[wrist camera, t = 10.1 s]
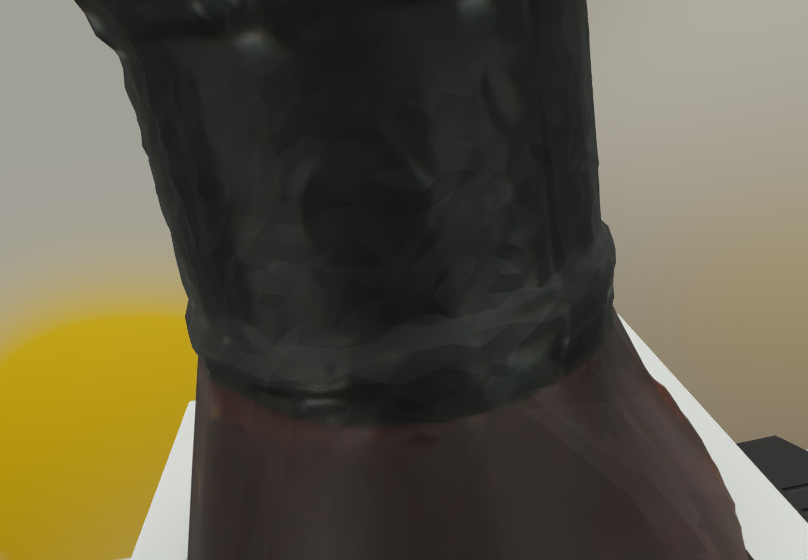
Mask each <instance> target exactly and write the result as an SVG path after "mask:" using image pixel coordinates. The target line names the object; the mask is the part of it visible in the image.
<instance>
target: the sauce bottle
mask: <svg viewBox="0 0 808 560" xmlns="http://www.w3.org/2000/svg"><path fill="white" fill-rule="evenodd" d="M74 1H75V2H76V3H77V5H78V6H79V7H80V8H81V9H82V11H83V12H84V13H85V15H86V17H87V19H88V21H89V23H90V25H91V27H92V29H93V31H94V33H95V35H96V36H97V37H98V38H99V39H101V40H102V41H103V42H105V43H106V44H107V45H108V46H109V47H111V48H112V49H113V50H114V51H115V52H116V53H117V55H118V56H119V58H120V61H121V64H122V67H123V72H124V83H125V89H126V92H127V94H128V96H129V99H130V101H131V103H132V106H133V108H134V110H135V112H136V116H137V121H138V124H139V127H140V129H141V136H142V146H143V148H144V150H145V152H146V154H147V155H148V157H149V164H150V167H151V171H152V175H153V178H154V182H155V188H156V193H157V195H158V199H159V203H160V207H161V210H162V213H163V215H164V218H165V220H166V223H167V225H168V227H169V229H170V232H171V237H172V242H173V247H174V252H175V257H176V260H177V265H178V268H179V272H180V276H181V280H182V284H183V286H184V289H185V291H186V294H187V296H188V298H189V300H188V305H187V310H186V315H185V319H186V324H187V329H188V334H189V337H190V341H191V344H192V348H193V349H194V350H195V352H196V353H197V354H198V368H197V386H196V404H195V422H194V440H193V458H192V476H191V496H190V516H189V536H188V556H187V560H748V557H747V553H746V548H745V545H744V540H743V536H742V528H741V525H740V522H739V520H738V517H737V515H736V512H735V503H734V501H733V499H732V498H731V495H730V493H729V491H728V490H727V488H726V486H725V484H724V481H723V479H722V477H721V474H720V472H719V469H718V467H717V466H716V464H715V463H714V461H713V460H712V458H711V456H710V454H709V452H708V450H707V448H706V447H705V445H704V443H703V441H702V439H701V438H700V436H699V435H698V433H697V432H696V430H695V429H694V427H693V426H692V424H691V423H690V421H689V420H688V418H687V417H686V416H685V415H684V414H683V412H682V411H681V410H680V408H679V406H678V405H677V403H676V402H675V400H674V399H673V397H672V396H671V394H670V393H669V392H668V390H667V389H666V388H665V386H663V385H662V384H660V383H659V382H658V381H656V380H655V379H654V378H653V377H652V376H651V375H650V373H649V372H648V370H647V369H646V367H645V366H644V364H643V362H642V360H641V358H640V356H639V354H638V352H637V351H636V349H635V347H634V345H633V343H632V341H631V339H630V337H629V335H628V334H627V332H626V330H625V328H624V326H623V324H622V322H621V320H620V318H619V317H618V315H617V313H616V311H615V309H614V307H613V299H614V290H613V277H614V268H615V264H616V255H615V254H616V253H615V245H614V242H613V238H612V236H611V233H610V230H609V228H608V226H607V225H606V224H605V223H604V222H603V221H602V220H601V212H600V198H599V179H598V165H599V161H598V152H597V141H596V129H595V116H594V103H593V88H592V74H591V61H590V45H589V26H588V17H587V16H588V15H587V14H588V13H587V12H588V11H587V3H586V0H74Z"/></svg>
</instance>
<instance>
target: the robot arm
mask: <svg viewBox="0 0 808 560" xmlns="http://www.w3.org/2000/svg"><path fill="white" fill-rule="evenodd" d="M617 315H618V314H617ZM618 317H619V318H620V320H621V322H622V324H623V326H624V328H625V330H626V332H627V334H628V335H629V337H630V339H631V341H632V343H633V345H634V347H635V349H636V351H637V352H638V354H639V356H640V358H641V360H642V362H643V364H644V366H645V367H646V369H647V370H648V372H649V373H650V375H651V376H652V377H653V378H654V379H655V380H656V381H658V382H659V383H660V384H662V385H663V386H665V388H666V389H667V390H668V392H669V393H670V394H671V396H672V397H673V399H674V400H675V402H676V403H677V405H678V406H679V408H680V410H681V411H682V412H683V414H684V415H685V416H686V417H687V418H688V420H689V421H690V423H691V424H692V426H693V427H694V429H695V430H696V432H697V433H698V435H699V436H700V438H701V439H702V441H703V443H704V445H705V447H706V448H707V450H708V452H709V454H710V456H711V458H712V460H713V461H714V463H715V464H716V466H717V467H718V469H719V472H720V474H721V477H722V479H723V481H724V484H725V486H726V488H727V490H728V491H729V493H730V495H731V498H732V499H733V501H734V503H735V512H736V515H737V517H738V520H739V522H740V525H741V528H742V536H743V540H744V545H745V548H746V553H747V557H748V560H808V451H806V450H804V449H802V448H800V447H798V446H796V445H794V444H792V443H789V442H788V441H786V440H784V439H781V438H779V437H777V436H771V437H766V438H762V439H757V440H752V441H747V442H742V443H738V444H735V443H734V441H733V440H732V439H731V438H730V437H729V436H728V435H727V434H726V433H725V432H724V431H723V429H722V428H721V427H720V426H719V425H718V424H717V423H716V422H715V420H714V419H713V418H712V417H711V416H710V415H709V414H708V413H707V412H706V411H705V409H704V408H703V407H702V406H701V405H700V404H699V403H698V402H697V401H696V400H695V398H694V397H693V396H692V395H691V394H690V393H689V392H688V391H687V390H686V388H685V387H684V386H683V385H682V384H681V383H680V382H679V381H678V380H677V379H676V377H675V376H674V375H673V374H672V373H671V372H670V371H669V370H668V369H667V368H666V366H664V364H663V363H662V362H661V361H660V360H659V359H658V358H657V356H656V355H655V354H654V353H653V352H652V351H651V350H650V349H649V348H648V347H647V345H645V343H644V342H643V341H642V340H641V339H640V338H639V337H638V336H637V334H636V333H635V332H634V331H633V330H632V329H631V328H630V327H629V326H628V325H627V323H626V322H625V321H624V320H623V319H622V318H621V317H620V316H619V315H618ZM195 404H196V401H191V402H189V404H188V407H187V410H186V413H185V415H184V418H183V421H182V423H181V426H180V429H179V431H178V434H177V437H176V439H175V442H174V445H173V448H172V450H171V453H170V455H169V458H168V461H167V464H166V466H165V469H164V472H163V474H162V477H161V480H160V482H159V485H158V488H157V490H156V493H155V496H154V498H153V501H152V504H151V506H150V509H149V512H148V515H147V517H146V520H145V522H144V525H143V528H142V531H141V534H140V536H139V539H138V541H137V544H136V547H135V549H134V552H133V555H132V557H131V560H187V556H188V536H189V516H190V496H191V476H192V458H193V440H194V422H195Z"/></svg>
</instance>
